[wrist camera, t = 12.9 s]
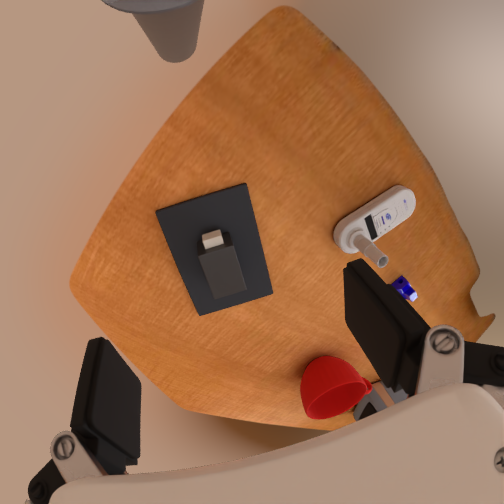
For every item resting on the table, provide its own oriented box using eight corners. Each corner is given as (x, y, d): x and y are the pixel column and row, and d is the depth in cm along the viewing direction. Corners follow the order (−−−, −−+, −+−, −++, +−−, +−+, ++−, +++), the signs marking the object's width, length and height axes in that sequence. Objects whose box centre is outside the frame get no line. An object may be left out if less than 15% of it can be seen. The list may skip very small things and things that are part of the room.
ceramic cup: (345, 381, 65) (361, 412, 57) (282, 385, 60) (295, 422, 52) (370, 343, 60) (392, 376, 51) (305, 344, 55) (323, 384, 46)
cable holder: (401, 275, 52) (413, 286, 48) (406, 285, 53) (417, 296, 50) (370, 301, 53) (380, 314, 49) (376, 310, 55) (385, 323, 51)
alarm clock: (363, 384, 68) (389, 431, 55) (410, 366, 71) (438, 407, 58) (349, 414, 76) (369, 455, 63) (393, 397, 79) (415, 434, 66)
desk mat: (155, 210, 37) (155, 212, 36) (245, 182, 37) (246, 184, 37) (199, 313, 46) (199, 316, 45) (272, 291, 47) (273, 293, 46)
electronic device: (448, 229, 36) (371, 286, 37) (408, 205, 45) (338, 252, 45) (444, 198, 33) (361, 258, 34) (401, 178, 42) (326, 226, 43)
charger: (193, 233, 39) (194, 247, 35) (226, 223, 39) (230, 236, 35) (211, 282, 43) (214, 299, 39) (241, 273, 43) (247, 289, 40)
